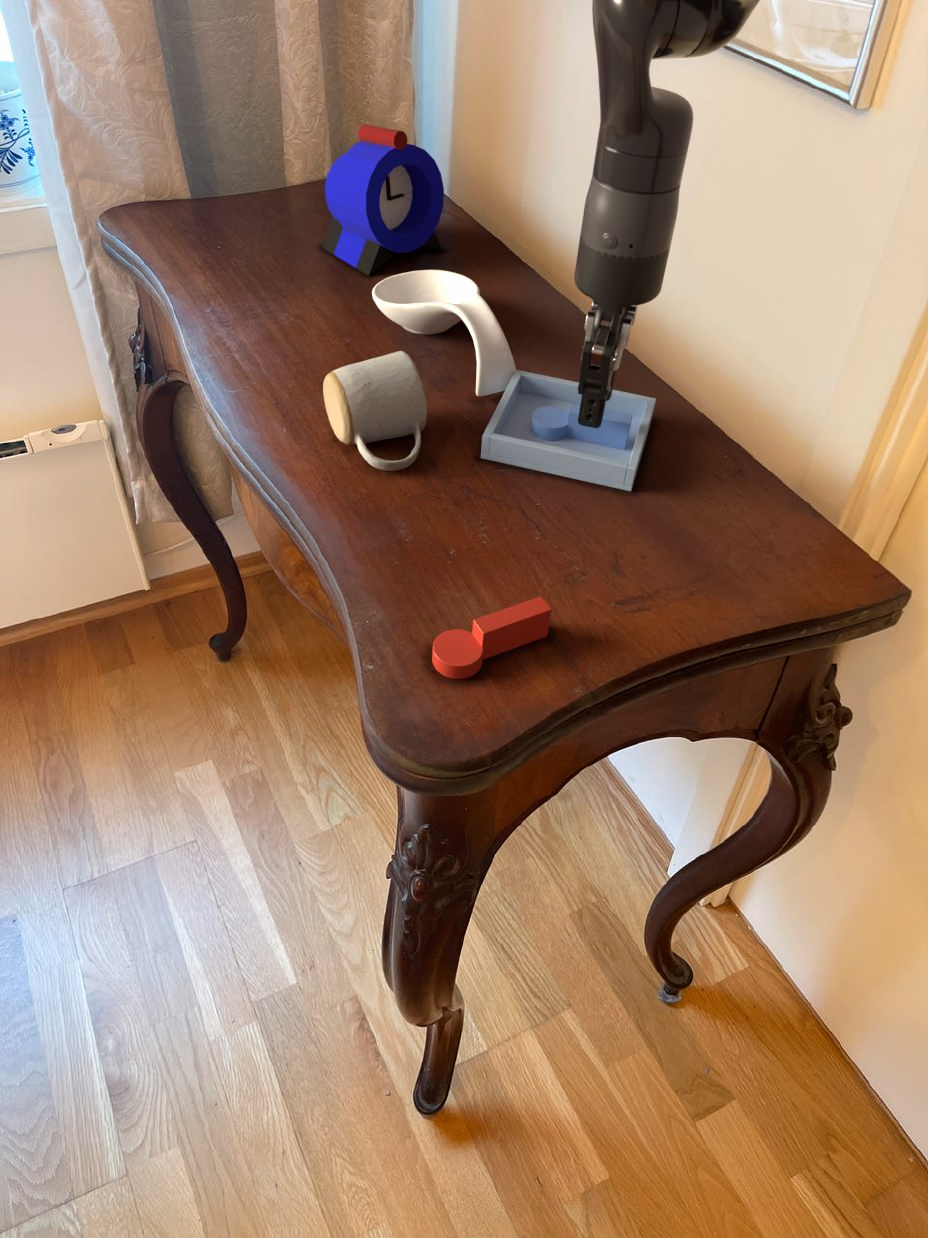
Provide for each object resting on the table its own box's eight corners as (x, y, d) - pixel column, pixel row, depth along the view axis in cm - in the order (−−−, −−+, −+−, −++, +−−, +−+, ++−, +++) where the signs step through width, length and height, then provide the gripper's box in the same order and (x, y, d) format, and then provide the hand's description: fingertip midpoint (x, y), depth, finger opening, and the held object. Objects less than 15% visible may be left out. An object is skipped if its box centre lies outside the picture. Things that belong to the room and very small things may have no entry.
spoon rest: (357, 309, 109) (353, 248, 104) (447, 289, 113) (447, 230, 108) (450, 409, 95) (450, 344, 90) (549, 382, 99) (555, 319, 94)
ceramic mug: (320, 421, 92) (316, 351, 86) (397, 404, 95) (398, 335, 89) (360, 484, 86) (359, 413, 80) (441, 464, 88) (445, 394, 83)
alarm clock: (371, 277, 114) (369, 147, 103) (312, 241, 120) (305, 115, 109) (447, 252, 120) (452, 126, 109) (387, 219, 126) (387, 97, 116)
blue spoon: (629, 435, 92) (634, 409, 90) (622, 456, 90) (628, 430, 88) (535, 415, 94) (539, 389, 92) (526, 435, 91) (530, 409, 89)
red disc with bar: (529, 614, 75) (533, 587, 73) (554, 645, 73) (559, 618, 71) (423, 651, 71) (424, 624, 69) (446, 686, 69) (448, 658, 67)
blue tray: (651, 420, 96) (656, 398, 94) (631, 491, 87) (636, 469, 85) (513, 391, 98) (515, 369, 96) (480, 458, 89) (482, 435, 87)
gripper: (658, 278, 72) (620, 461, 84) (682, 208, 82) (644, 381, 94) (563, 260, 73) (539, 443, 85) (598, 194, 83) (571, 366, 95)
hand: (594, 410), depth 89 cm, fingers open, 4 cm apart
